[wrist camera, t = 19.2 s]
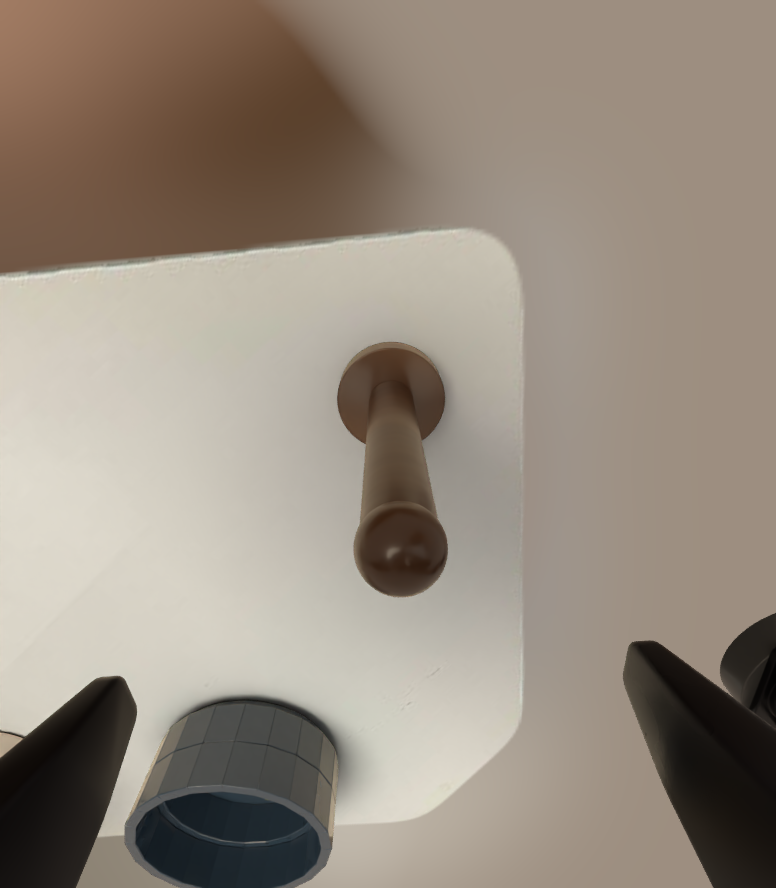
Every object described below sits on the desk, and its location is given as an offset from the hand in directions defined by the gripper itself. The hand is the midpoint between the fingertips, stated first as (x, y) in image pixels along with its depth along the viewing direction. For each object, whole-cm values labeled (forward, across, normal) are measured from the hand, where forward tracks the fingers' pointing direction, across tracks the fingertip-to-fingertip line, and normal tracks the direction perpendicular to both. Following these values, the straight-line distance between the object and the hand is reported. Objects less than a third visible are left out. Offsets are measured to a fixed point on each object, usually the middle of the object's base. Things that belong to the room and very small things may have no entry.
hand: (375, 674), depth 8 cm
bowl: (+13, +10, +23) cm, 28 cm away
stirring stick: (+13, -1, -1) cm, 13 cm away
